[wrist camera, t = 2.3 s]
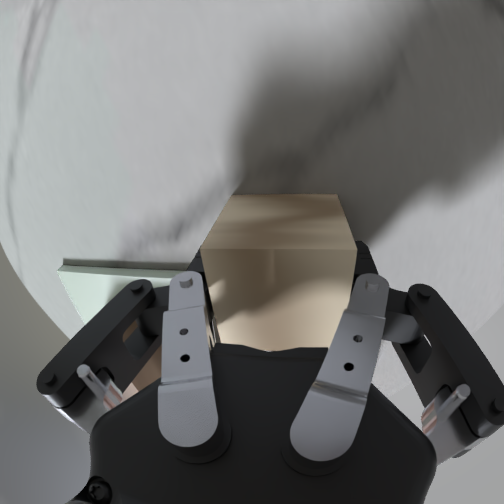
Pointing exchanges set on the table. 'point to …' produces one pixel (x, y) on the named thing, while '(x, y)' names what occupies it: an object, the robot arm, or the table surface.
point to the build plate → (104, 285)
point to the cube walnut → (143, 369)
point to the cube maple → (279, 270)
